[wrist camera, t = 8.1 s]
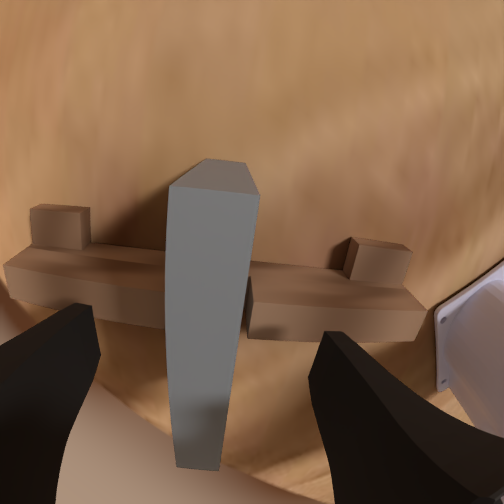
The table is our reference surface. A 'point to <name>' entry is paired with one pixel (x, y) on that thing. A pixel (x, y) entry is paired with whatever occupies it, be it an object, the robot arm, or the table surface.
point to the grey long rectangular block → (205, 301)
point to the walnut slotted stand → (257, 290)
